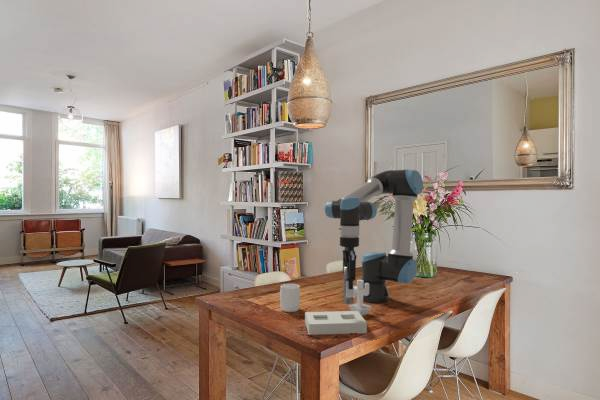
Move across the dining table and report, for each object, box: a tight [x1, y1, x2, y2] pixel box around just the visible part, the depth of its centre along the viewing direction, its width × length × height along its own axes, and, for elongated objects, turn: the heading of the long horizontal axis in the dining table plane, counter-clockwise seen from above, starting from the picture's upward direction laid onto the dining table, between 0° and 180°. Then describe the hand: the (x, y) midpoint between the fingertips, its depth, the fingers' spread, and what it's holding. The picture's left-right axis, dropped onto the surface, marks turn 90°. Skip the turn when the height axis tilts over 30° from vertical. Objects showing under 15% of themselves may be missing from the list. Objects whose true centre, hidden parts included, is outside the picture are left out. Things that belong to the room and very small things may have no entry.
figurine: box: [347, 279, 372, 317], centre depth 164 cm, size 7×9×15 cm
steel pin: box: [342, 266, 355, 305], centre depth 147 cm, size 4×4×14 cm
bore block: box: [304, 310, 368, 336], centre depth 147 cm, size 22×14×4 cm, turn 95°
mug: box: [279, 283, 301, 313], centre depth 171 cm, size 9×12×11 cm
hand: (348, 295), depth 148 cm, fingers closed on steel pin, 4 cm apart
